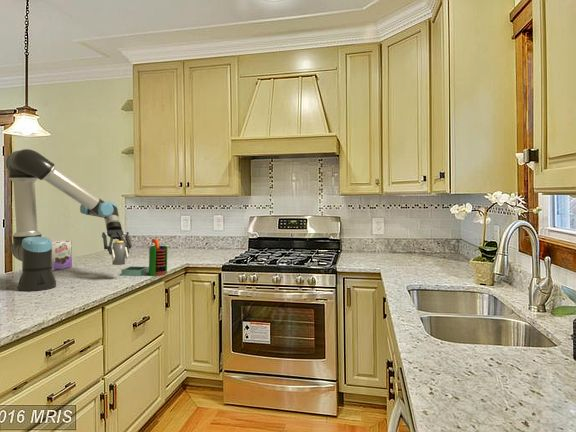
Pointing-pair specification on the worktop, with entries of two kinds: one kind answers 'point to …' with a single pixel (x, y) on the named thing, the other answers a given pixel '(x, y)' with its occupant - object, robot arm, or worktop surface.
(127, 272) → the teal square tray
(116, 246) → the grey cylindrical canister
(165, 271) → the motor
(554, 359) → the worktop surface
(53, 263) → the candy box
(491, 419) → the worktop surface
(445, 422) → the worktop surface
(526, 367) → the worktop surface
